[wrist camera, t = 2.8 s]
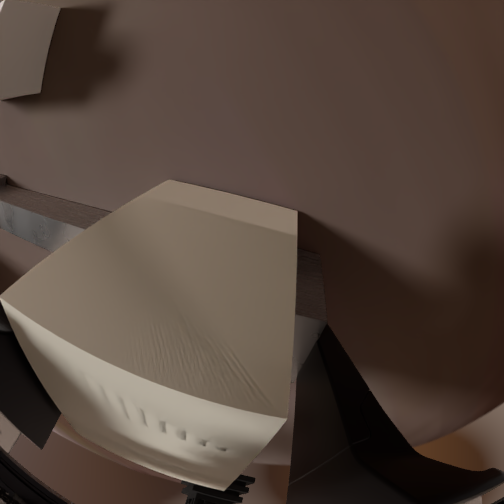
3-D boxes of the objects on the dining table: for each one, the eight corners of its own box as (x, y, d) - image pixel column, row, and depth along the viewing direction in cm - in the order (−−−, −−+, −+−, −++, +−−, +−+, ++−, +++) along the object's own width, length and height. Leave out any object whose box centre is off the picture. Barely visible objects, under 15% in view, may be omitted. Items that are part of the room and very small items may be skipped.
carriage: (259, 329, 13) (224, 490, 6) (160, 299, 13) (77, 433, 6) (297, 210, 10) (287, 419, 3) (168, 179, 10) (-2, 296, 3)
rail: (297, 311, 12) (293, 383, 9) (3, 214, 13) (-37, 239, 9) (319, 254, 11) (327, 321, 7) (-2, 173, 11) (-46, 194, 8)
